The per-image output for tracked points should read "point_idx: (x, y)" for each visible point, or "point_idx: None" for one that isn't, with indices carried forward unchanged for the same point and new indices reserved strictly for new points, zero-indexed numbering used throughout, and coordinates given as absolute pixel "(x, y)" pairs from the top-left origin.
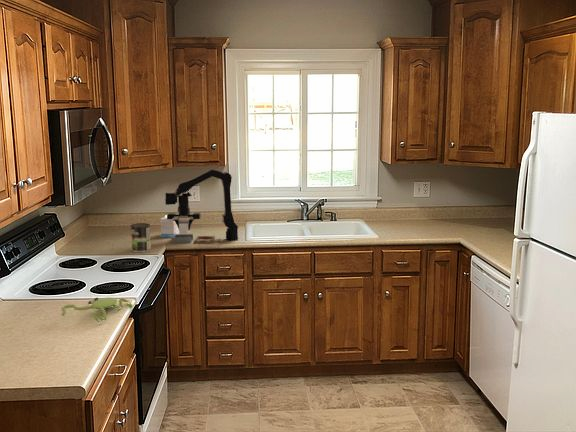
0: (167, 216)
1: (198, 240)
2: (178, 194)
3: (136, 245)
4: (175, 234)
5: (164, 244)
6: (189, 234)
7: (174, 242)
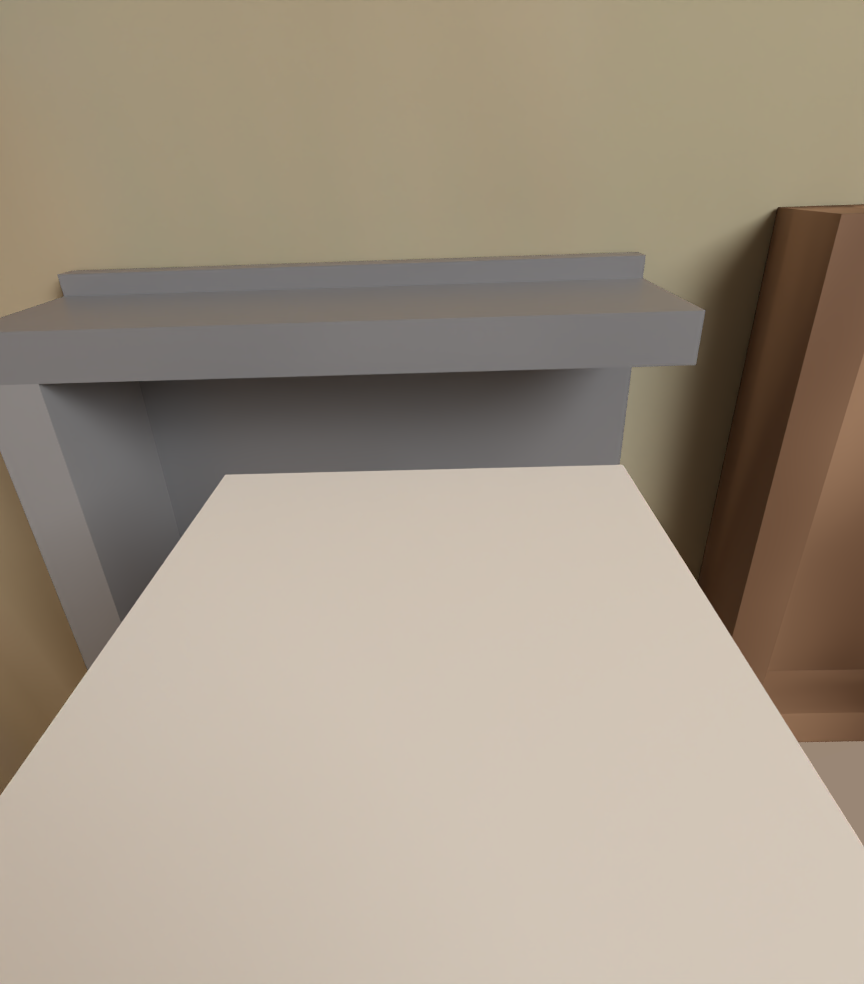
0: None
1: (791, 725)
2: None
3: None
4: (33, 388)
5: (65, 697)
6: (565, 367)
7: None
